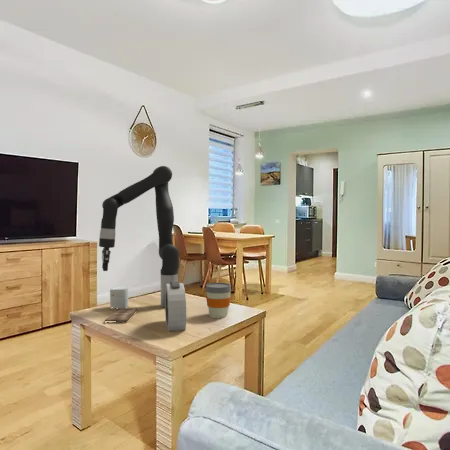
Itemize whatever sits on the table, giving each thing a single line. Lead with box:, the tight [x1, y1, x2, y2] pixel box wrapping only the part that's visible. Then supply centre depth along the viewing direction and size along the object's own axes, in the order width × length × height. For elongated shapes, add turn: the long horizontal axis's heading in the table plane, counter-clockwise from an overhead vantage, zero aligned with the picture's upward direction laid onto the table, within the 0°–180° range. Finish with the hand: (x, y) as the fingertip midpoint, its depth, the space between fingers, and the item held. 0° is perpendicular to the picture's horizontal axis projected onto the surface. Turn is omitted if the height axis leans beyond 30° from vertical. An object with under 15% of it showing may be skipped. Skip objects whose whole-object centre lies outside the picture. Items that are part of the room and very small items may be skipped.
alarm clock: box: [164, 281, 187, 332], centre depth 159 cm, size 21×8×20 cm, turn 13°
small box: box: [109, 286, 129, 308], centre depth 190 cm, size 8×6×10 cm
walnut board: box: [104, 307, 138, 323], centre depth 174 cm, size 10×20×2 cm, turn 0°
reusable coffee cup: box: [205, 282, 232, 319], centre depth 175 cm, size 13×13×15 cm
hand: (104, 269), depth 180 cm, fingers open, 8 cm apart
